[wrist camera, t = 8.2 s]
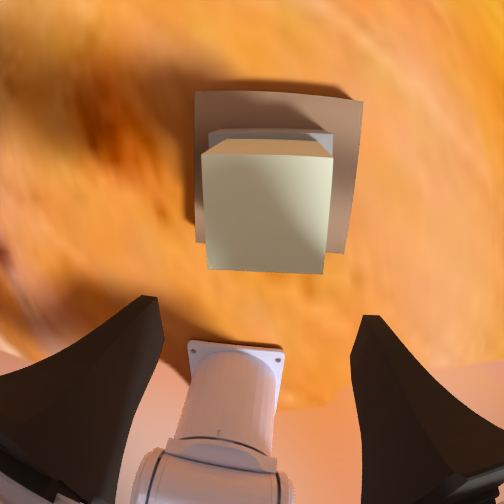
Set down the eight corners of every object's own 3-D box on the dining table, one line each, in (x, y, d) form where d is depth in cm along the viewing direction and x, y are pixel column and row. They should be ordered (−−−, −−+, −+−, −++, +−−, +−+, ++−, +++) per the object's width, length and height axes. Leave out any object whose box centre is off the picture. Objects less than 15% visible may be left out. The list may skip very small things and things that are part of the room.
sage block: (312, 225, 15) (322, 274, 11) (228, 222, 15) (207, 269, 11) (317, 141, 13) (333, 158, 9) (226, 138, 13) (201, 154, 9)
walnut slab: (337, 237, 21) (343, 253, 18) (205, 227, 21) (195, 242, 19) (353, 102, 17) (363, 101, 14) (205, 92, 17) (194, 91, 15)
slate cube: (320, 226, 18) (326, 248, 15) (225, 223, 18) (214, 245, 16) (324, 129, 15) (333, 134, 13) (221, 128, 16) (208, 133, 13)
